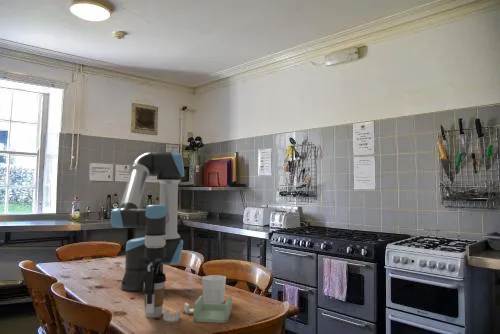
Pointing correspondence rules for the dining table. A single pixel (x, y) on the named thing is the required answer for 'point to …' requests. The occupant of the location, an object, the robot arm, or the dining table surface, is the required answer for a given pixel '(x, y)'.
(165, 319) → the clip
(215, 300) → the cup
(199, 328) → the dining table surface
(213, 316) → the holder
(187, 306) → the clip
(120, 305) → the dining table surface
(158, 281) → the coffee cup
